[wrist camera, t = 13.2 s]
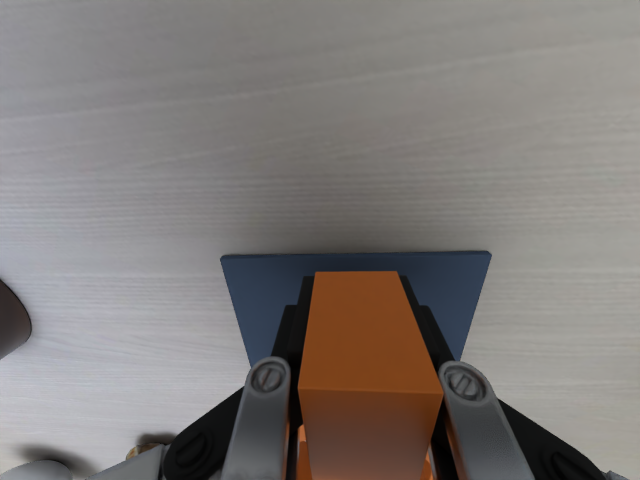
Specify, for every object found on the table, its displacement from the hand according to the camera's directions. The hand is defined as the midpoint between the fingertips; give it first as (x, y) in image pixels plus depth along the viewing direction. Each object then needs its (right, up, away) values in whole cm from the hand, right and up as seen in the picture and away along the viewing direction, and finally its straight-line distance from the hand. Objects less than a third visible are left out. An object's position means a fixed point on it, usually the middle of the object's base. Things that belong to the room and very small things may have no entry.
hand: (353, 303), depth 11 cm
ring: (0, -5, +2) cm, 6 cm away
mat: (0, -4, +5) cm, 6 cm away
